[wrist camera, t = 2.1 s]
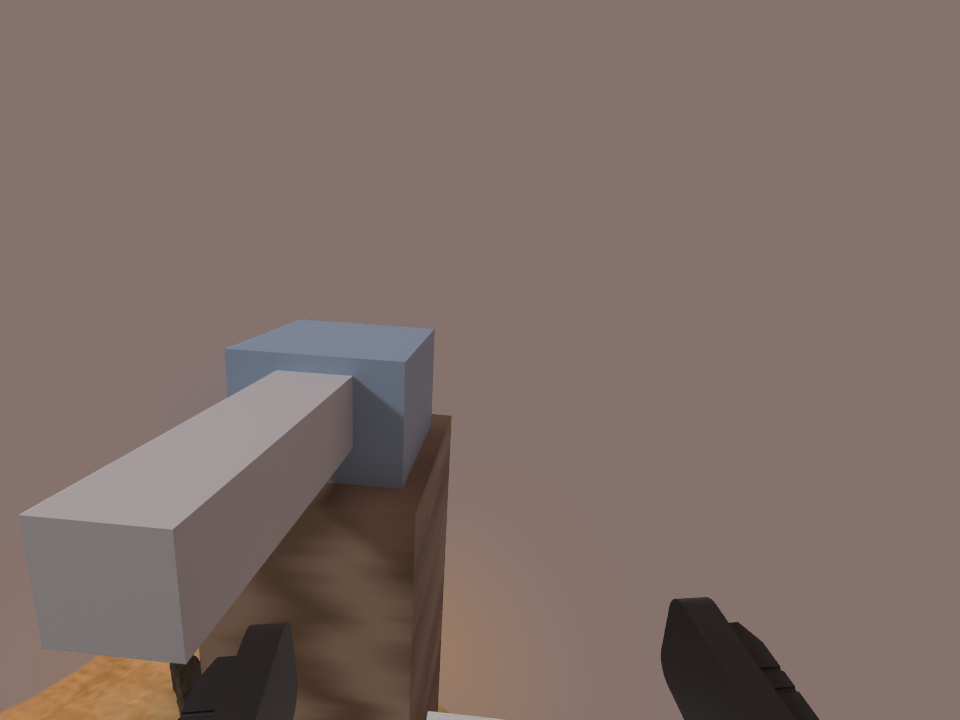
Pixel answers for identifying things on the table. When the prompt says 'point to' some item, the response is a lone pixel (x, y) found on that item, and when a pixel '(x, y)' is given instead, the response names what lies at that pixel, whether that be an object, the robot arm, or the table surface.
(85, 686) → the table surface
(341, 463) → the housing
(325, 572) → the walnut stand
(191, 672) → the hand tool
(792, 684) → the robot arm
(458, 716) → the grey pedestal
